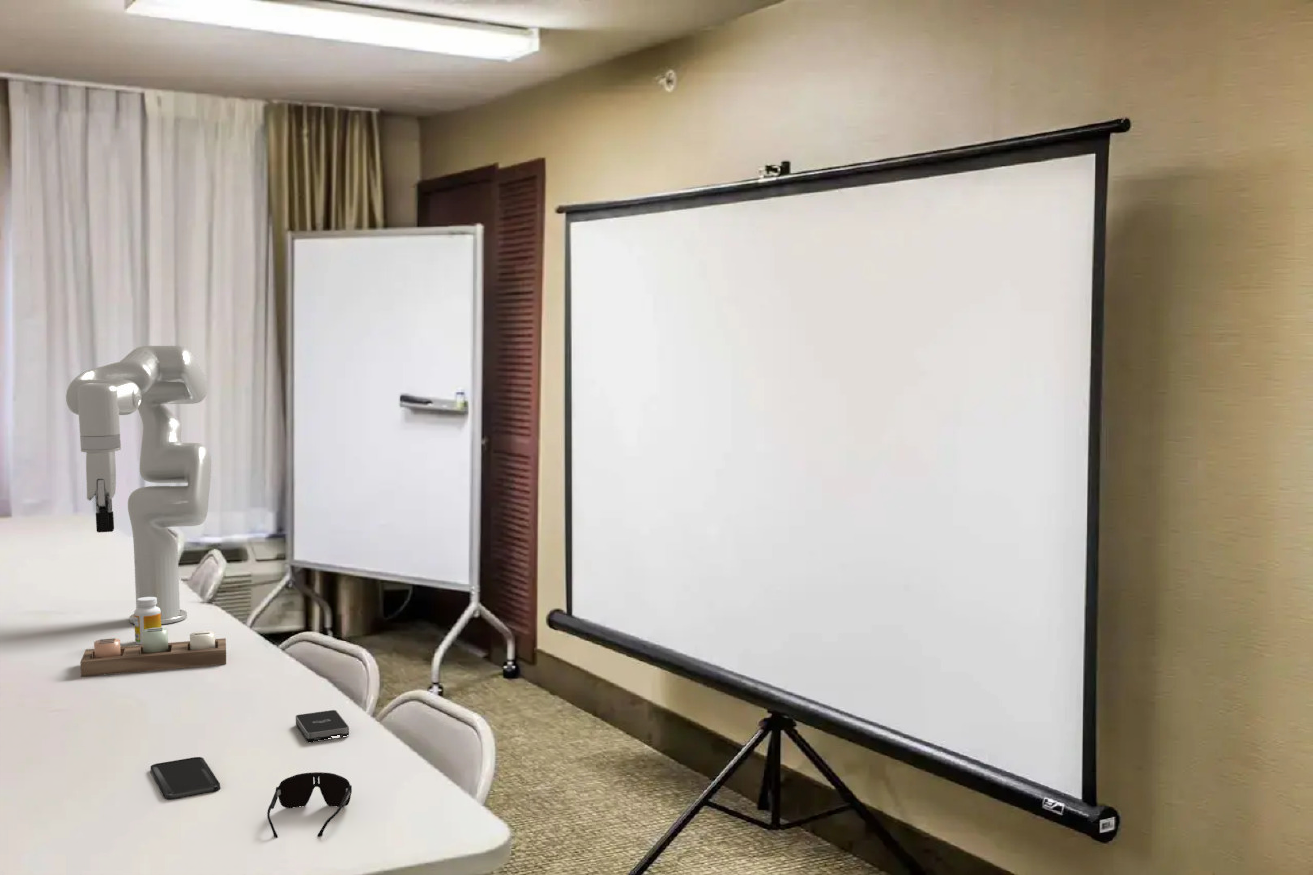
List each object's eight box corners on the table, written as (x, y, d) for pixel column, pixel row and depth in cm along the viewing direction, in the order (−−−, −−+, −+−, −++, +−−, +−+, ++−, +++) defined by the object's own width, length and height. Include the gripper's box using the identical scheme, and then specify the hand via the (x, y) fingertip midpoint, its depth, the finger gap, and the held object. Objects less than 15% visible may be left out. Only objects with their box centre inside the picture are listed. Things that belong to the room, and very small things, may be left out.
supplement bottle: (166, 639, 272) (164, 596, 271) (154, 645, 266) (152, 601, 265) (143, 638, 272) (141, 595, 271) (130, 645, 267) (128, 600, 266)
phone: (165, 796, 177) (149, 764, 190) (165, 803, 178) (149, 771, 190) (222, 785, 181) (202, 755, 194) (222, 793, 182) (202, 762, 194)
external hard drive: (307, 745, 202) (307, 733, 202) (295, 726, 212) (294, 715, 212) (349, 739, 205) (349, 727, 205) (335, 720, 215) (335, 709, 215)
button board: (86, 663, 251) (85, 649, 251) (226, 652, 260) (225, 638, 260) (81, 676, 242) (80, 661, 242) (226, 664, 251) (225, 649, 251)
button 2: (143, 647, 252) (142, 628, 252) (168, 645, 254) (168, 626, 254) (142, 653, 248) (141, 633, 248) (167, 651, 249) (167, 631, 249)
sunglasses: (355, 803, 177) (353, 771, 176) (337, 848, 165) (335, 814, 164) (281, 804, 176) (278, 772, 175) (258, 850, 165) (255, 816, 164)
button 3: (96, 659, 250) (95, 639, 249) (121, 656, 251) (120, 637, 251) (93, 665, 245) (92, 644, 245) (119, 662, 247) (119, 642, 246)
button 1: (190, 651, 256) (190, 631, 255) (215, 649, 257) (214, 629, 257) (190, 656, 251) (189, 637, 251) (215, 654, 253) (214, 635, 252)
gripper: (84, 439, 258) (89, 526, 260) (76, 448, 244) (82, 539, 246) (123, 438, 261) (127, 523, 263) (117, 447, 247) (122, 537, 249)
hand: (105, 531), depth 255 cm, fingers closed
